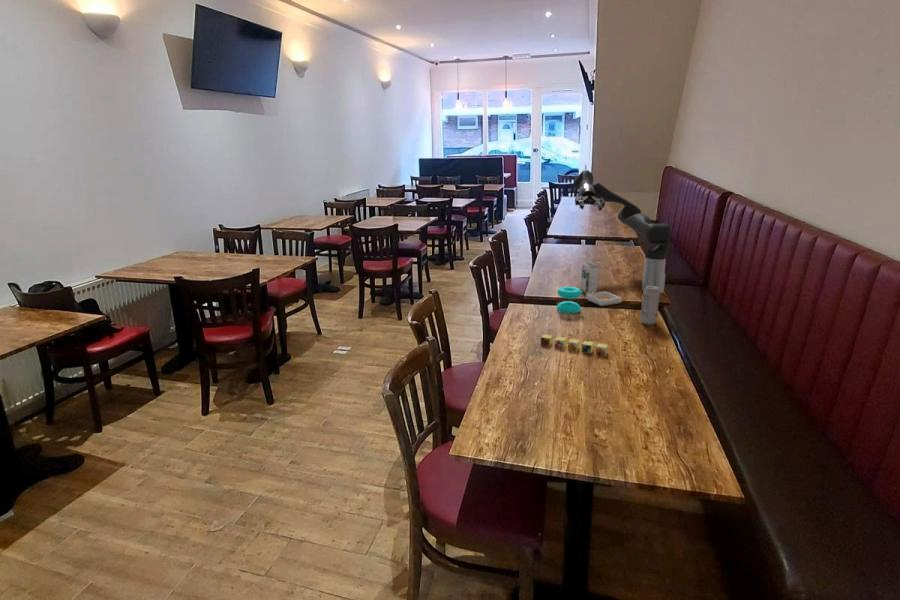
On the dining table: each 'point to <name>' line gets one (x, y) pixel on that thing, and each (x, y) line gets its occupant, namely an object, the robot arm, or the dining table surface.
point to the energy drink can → (650, 305)
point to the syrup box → (589, 277)
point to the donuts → (569, 294)
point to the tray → (594, 299)
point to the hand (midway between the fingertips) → (591, 208)
